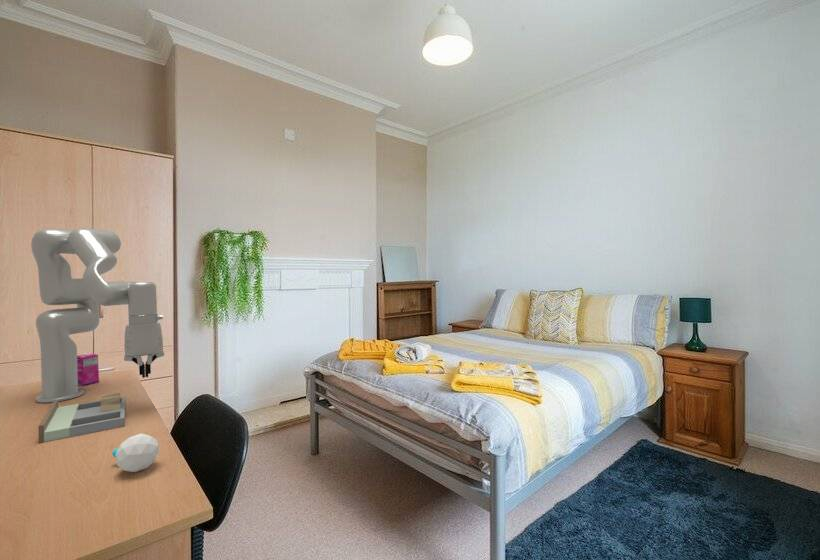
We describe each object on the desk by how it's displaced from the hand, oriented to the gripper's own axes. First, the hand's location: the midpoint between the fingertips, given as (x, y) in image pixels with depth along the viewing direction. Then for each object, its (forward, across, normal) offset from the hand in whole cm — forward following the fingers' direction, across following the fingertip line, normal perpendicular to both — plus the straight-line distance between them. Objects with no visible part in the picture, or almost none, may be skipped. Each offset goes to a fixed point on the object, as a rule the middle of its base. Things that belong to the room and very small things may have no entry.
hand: (145, 376), depth 121 cm
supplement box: (+10, +18, -50) cm, 54 cm away
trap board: (+11, +14, -1) cm, 18 cm away
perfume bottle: (+12, +4, +41) cm, 43 cm away
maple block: (+9, +9, -1) cm, 12 cm away
